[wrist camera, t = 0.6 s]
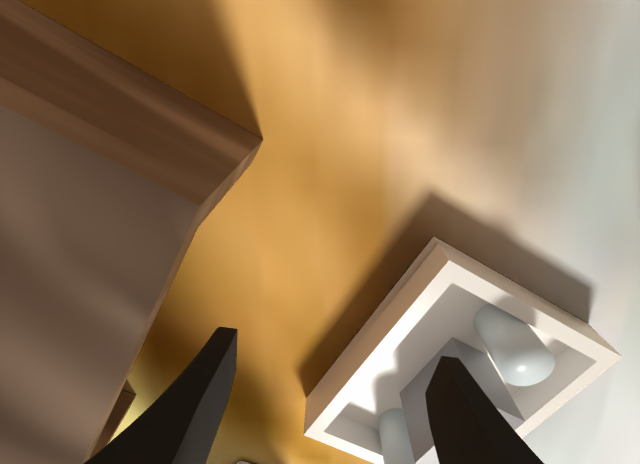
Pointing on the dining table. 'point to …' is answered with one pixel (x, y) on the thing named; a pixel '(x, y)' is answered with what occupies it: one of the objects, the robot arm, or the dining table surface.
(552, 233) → the dining table surface
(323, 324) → the dining table surface
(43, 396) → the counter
